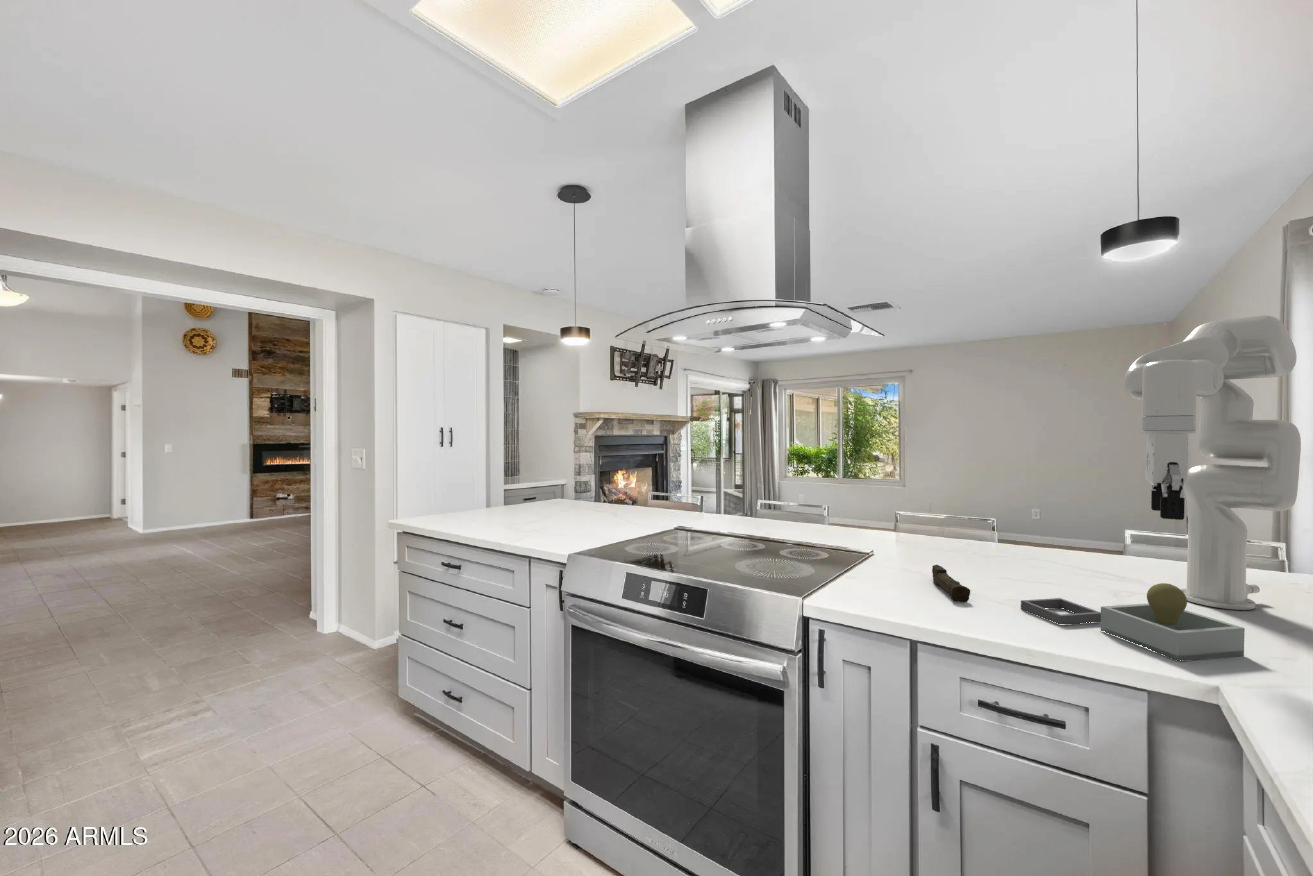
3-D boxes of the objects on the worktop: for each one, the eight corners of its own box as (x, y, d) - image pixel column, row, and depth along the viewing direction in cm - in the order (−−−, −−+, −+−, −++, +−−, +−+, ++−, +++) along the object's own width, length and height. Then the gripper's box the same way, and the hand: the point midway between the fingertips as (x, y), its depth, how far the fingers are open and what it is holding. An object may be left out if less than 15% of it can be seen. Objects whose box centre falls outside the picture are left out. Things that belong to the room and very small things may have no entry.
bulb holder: (1060, 606, 123) (1060, 597, 123) (1102, 622, 114) (1102, 613, 114) (1020, 609, 122) (1020, 600, 122) (1060, 625, 112) (1060, 616, 112)
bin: (1159, 627, 111) (1160, 602, 111) (1243, 655, 97) (1244, 628, 97) (1100, 631, 109) (1100, 606, 109) (1177, 661, 95) (1178, 633, 95)
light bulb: (1185, 635, 104) (1186, 583, 104) (1187, 644, 100) (1188, 589, 100) (1146, 628, 108) (1146, 578, 107) (1146, 637, 103) (1146, 584, 103)
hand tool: (970, 604, 126) (971, 584, 126) (951, 602, 127) (952, 582, 127) (945, 581, 145) (945, 563, 145) (928, 580, 146) (929, 562, 146)
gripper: (1135, 424, 114) (1134, 506, 114) (1149, 427, 100) (1148, 520, 100) (1184, 424, 110) (1183, 509, 110) (1207, 426, 95) (1205, 524, 96)
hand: (1166, 514), depth 105 cm, fingers open, 9 cm apart
